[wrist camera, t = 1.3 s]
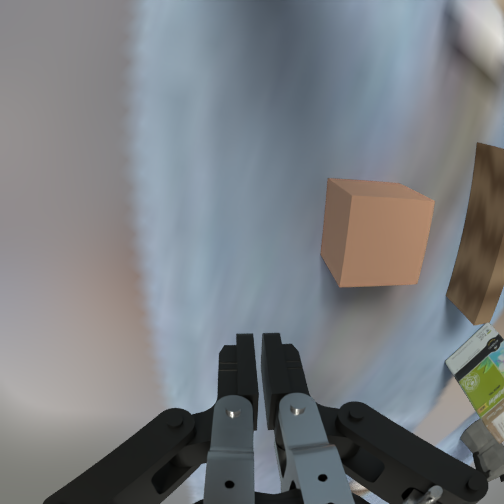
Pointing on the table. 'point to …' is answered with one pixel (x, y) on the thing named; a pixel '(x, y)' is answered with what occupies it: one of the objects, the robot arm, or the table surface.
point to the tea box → (483, 376)
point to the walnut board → (481, 241)
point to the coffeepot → (485, 450)
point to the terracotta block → (374, 232)
